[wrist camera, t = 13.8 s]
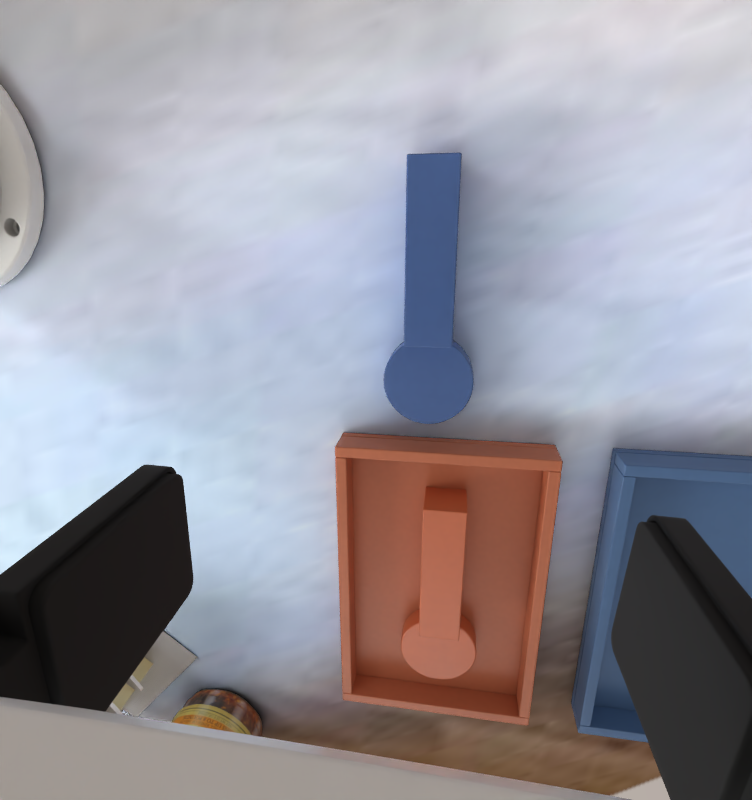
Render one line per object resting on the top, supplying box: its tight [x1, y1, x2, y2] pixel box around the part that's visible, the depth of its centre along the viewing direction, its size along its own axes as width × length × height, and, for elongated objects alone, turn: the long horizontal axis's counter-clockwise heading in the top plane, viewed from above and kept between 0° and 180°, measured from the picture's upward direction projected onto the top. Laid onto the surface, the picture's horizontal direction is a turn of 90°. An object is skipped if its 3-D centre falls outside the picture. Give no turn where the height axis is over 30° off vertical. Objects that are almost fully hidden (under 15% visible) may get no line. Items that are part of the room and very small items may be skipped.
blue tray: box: [571, 448, 752, 742], centre depth 26 cm, size 17×11×2 cm, turn 0°
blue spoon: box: [384, 153, 473, 424], centre depth 23 cm, size 12×4×2 cm, turn 0°
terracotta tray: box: [335, 433, 563, 726], centre depth 28 cm, size 17×11×2 cm, turn 0°
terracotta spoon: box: [401, 487, 476, 679], centre depth 28 cm, size 12×4×2 cm, turn 0°
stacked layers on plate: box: [106, 631, 198, 717], centre depth 33 cm, size 10×9×6 cm
